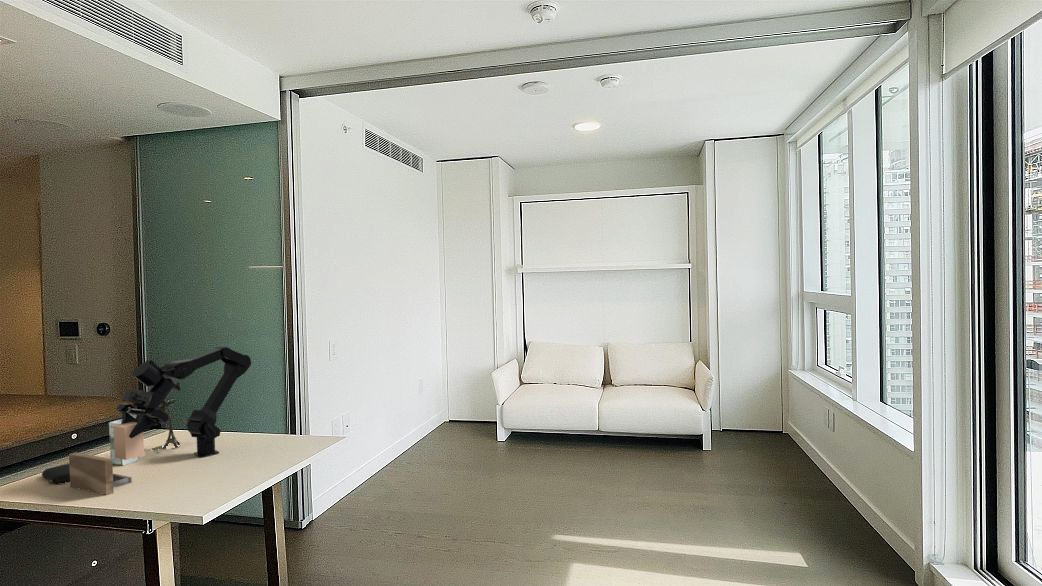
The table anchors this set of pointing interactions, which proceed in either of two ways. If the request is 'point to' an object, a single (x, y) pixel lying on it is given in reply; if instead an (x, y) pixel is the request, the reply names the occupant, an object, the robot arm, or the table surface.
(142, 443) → the pinkish tan block
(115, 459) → the syrup box
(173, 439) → the eiffel tower figurine
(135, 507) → the table surface
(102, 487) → the cleat board
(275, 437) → the table surface
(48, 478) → the carrying case or bag
